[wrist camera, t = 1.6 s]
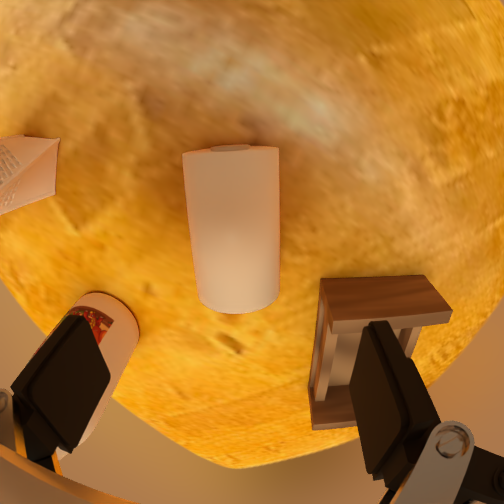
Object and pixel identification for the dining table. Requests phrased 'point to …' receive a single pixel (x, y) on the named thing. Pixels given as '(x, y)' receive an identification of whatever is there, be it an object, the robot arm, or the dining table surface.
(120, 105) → the dining table surface
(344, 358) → the cradle
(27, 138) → the skyscraper
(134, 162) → the dining table surface
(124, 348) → the milk bottle
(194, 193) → the roll
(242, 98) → the dining table surface
